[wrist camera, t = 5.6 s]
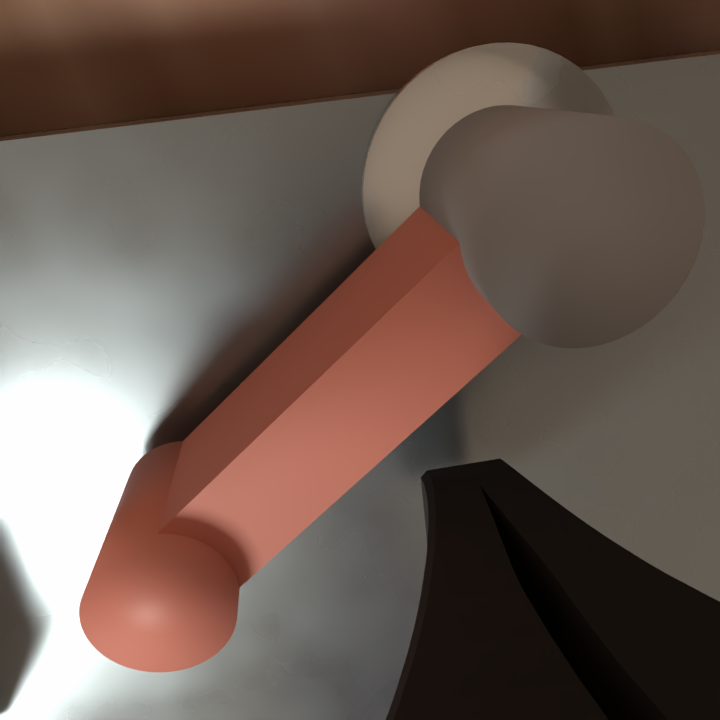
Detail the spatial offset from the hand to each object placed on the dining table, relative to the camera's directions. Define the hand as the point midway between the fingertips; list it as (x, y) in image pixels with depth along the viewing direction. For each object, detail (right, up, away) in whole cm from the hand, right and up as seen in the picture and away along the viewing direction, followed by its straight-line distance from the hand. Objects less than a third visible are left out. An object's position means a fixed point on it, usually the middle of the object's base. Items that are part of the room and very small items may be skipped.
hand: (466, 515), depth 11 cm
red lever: (-2, +3, 0) cm, 3 cm away
